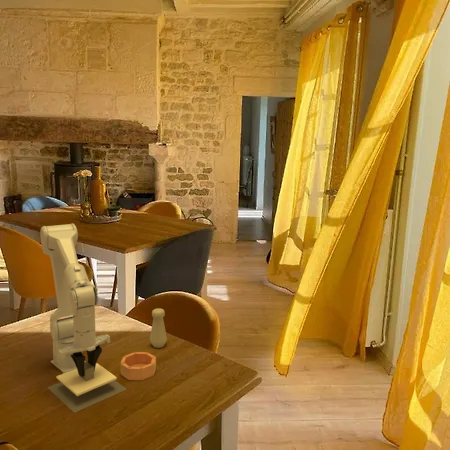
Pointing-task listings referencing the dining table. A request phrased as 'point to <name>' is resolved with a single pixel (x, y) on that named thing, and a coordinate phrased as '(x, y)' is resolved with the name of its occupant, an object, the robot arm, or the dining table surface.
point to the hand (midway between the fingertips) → (86, 373)
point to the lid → (86, 378)
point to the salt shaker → (158, 329)
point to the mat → (85, 395)
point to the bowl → (138, 366)
